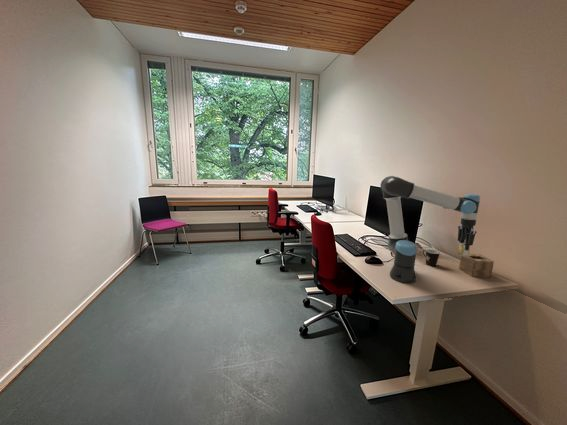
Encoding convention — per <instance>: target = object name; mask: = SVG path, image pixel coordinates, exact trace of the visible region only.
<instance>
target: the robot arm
mask: <svg viewBox="0 0 567 425" xmlns="http://www.w3.org/2000/svg"><path fill="white" fill-rule="evenodd" d="M380 189H381V191H382V197H383V198H382V199H384V200H385V201H386V208H387V209H386V210H387V216H388V224H389V232H390V234H388V242H387V245H388V248H389V250H390V251H391V252H392V254H393V255H394V259H393V260H394V261H393V265H392V267H391V269H390V272H389V277H390V278H391V279H392V280H394V281H397V282H399V283H404V284H413V283H416V281H417V274H416V270H415V265H416V264H415V263H416V256H417V251H418V250H417V249H418V247H417V244H416V243H414V242H413V241H410V240H409V239H408V238H409V237H408V234H407V233H405V227H404V226H405V225H404V217H403V210H402V202H401V199H402V198H404V199H414V200H418V201H422V202H425V203H428V204H431V205H434V206H435V205H436V206H440V207H442V208H443V209H448V210H453V211H456V212H459V213H461V218H460V224H461V225H459V226H457V228H458V230H457V231H458V233H457V241H458V243H459V244H458V246H459V245H464V247H463V253H462V254H463V255H468V250H469V246H470V247H471V246H473V245H474V241H475V236H476V234H477V230H474V226H475V227H476V224H477V218H478V212H479V206H480V202H481V196H480V194H474V193H467V194H465V195H464V197H461V196H460V197H459V196H454V195H450V194H446V193H443V192H441V191H440V192H439V191H436V190H432V189H429V188H426V187H421V186H419V185H415V183H414V182H411V181H408V180H405V179H403V178H401V177H399V176H394V175H389V176H385V177H384V178H383V179H382V180H381V182H380Z"/></svg>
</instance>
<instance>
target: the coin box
mask: <svg viewBox="0 0 567 425" xmlns="http://www.w3.org/2000/svg"><path fill="white" fill-rule="evenodd" d="M494 263H495V261H494V260H492V259H490V258H487V257H486V256H484V255H482V254H481V253H479V254H477V253H469V255H460V259H459V266H458V269H459V270H461V271H462V272H464V273H465V274H467V275H468V276H470V277H475V278H476V277H477V278H478V277H479V278H491V277H492V272H493V269H494Z"/></svg>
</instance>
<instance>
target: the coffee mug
mask: <svg viewBox="0 0 567 425" xmlns="http://www.w3.org/2000/svg"><path fill="white" fill-rule="evenodd" d="M422 254H423V256H424V257H425V265H427V267H428V266H429V267H436V266H437V264H438V260H439V257H440V251H438V250H435V249H424V250H423V251H422Z"/></svg>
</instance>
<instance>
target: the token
mask: <svg viewBox="0 0 567 425" xmlns="http://www.w3.org/2000/svg"><path fill="white" fill-rule="evenodd" d="M463 247H464V245H459V244H458V248H457V254H458V255H460V256H461V255H463V254H462V253H463ZM470 251H471V245H470V246H469V250H468V255H469V254H470Z"/></svg>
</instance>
